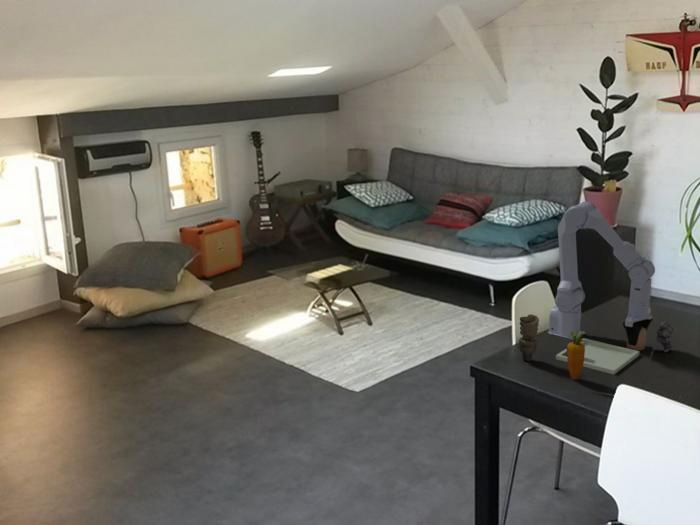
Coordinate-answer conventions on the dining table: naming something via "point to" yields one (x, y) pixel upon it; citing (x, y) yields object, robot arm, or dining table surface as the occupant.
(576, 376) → the carrot
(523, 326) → the brown carved statue
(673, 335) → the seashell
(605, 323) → the dining table surface
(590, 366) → the tray
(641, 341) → the tan cylinder
